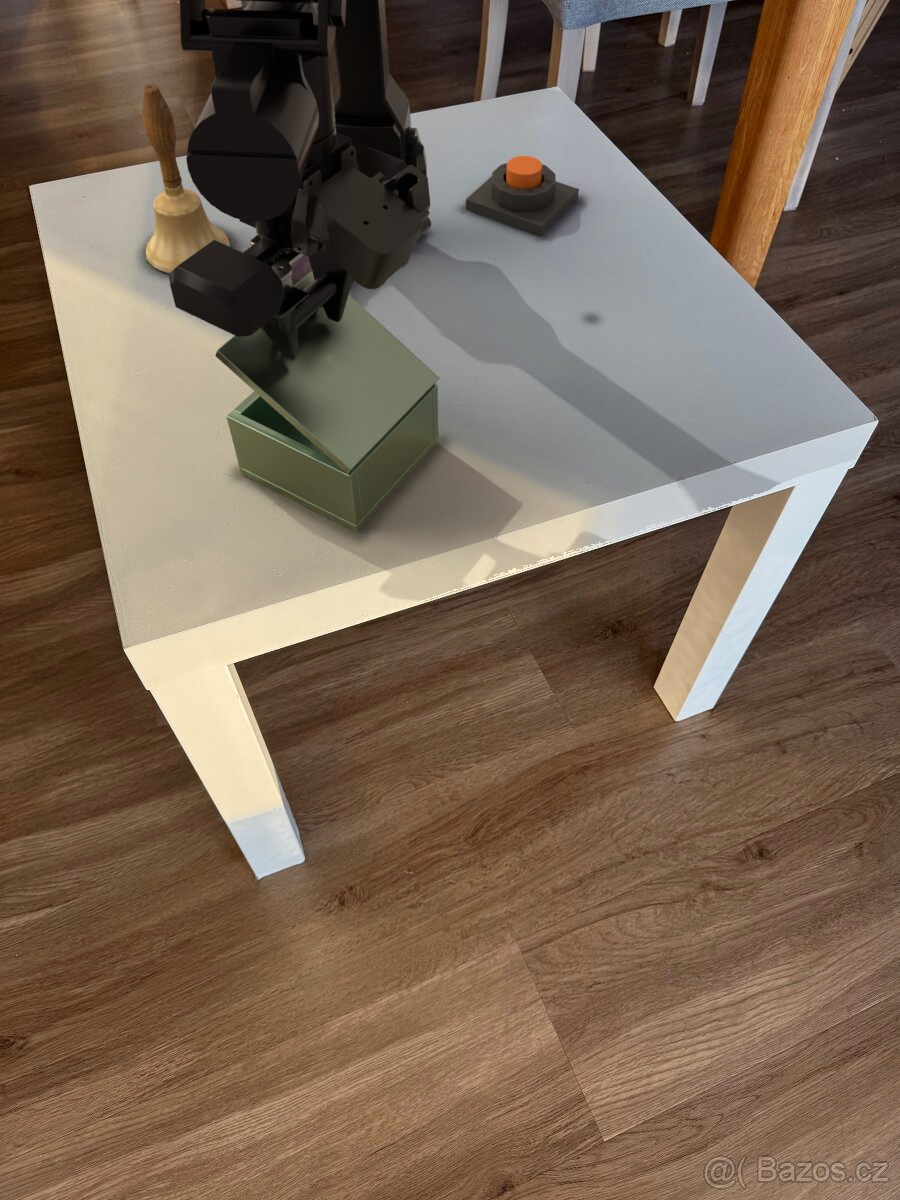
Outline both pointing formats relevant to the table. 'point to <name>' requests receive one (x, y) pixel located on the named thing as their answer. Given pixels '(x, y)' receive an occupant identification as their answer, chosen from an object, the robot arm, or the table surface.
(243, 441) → the green box
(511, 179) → the button
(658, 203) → the table surface
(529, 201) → the control block
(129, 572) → the table surface
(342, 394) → the box lid
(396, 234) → the robot arm
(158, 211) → the hand bell
